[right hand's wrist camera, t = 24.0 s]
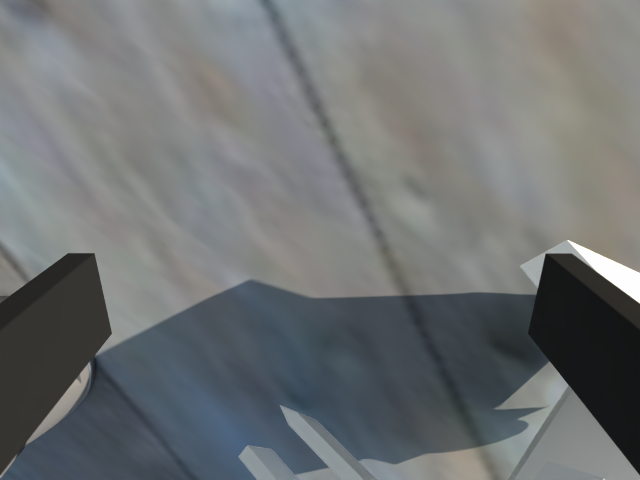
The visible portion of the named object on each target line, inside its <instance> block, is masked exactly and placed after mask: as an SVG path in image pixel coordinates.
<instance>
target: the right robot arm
mask: <svg viewBox="0 0 640 480" xmlns="http://www.w3.org/2000/svg"><path fill="white" fill-rule="evenodd" d="M111 334H112V332H111V327H110V323H109V318H108V313H107V309H106V304H105V300H104V295H103V290H102V286H101V281H100V277H99V272H98V267H97V263H96V258H95V254H94V253H68V254H67V255H65V256H64V257H63V258H61V259H60V260H58V261H57V262H56V263H54V264H53V265H52V266H50V267H49V268H48V269H46V270H45V271H43V272H42V273H41V274H39V275H38V276H37V277H35V278H34V279H33V280H31V281H30V282H28V283H27V284H26V285H24V286H23V287H22V288H20V289H19V290H18V291H16V292H15V293H13V294H12V295H11V296H0V479H1V477H2V476H3V475H4V474H5V472H6V471H7V470H8V468H9V467H10V466H11V464H12V463H13V462H14V460H15V459H16V458H17V456H18V455H19V454H20V453H21V451H22V450H23V449H24V448H25V446H26V445H28V444H29V443H31V442H32V441H33V440H35V439H36V438H38V437H39V436H41V435H42V434H43V433H45V432H46V431H48V430H49V429H50V428H52V427H53V426H55V425H56V424H58V423H59V422H60V421H62V420H63V419H65V418H66V417H67V416H69V415H70V414H71V413H72V412H73V411H74V410H75V409H76V408H77V407H78V406H79V405H80V404H81V403H82V401H83V400H84V399H85V397H86V396H87V394H88V393H89V391H90V390H91V388H92V386H93V383H94V380H95V374H96V367H95V360H94V356H95V354H96V353H97V352H98V350H99V349H100V348H101V347H102V345H103V344H104V343H105V342H106V340H107V339H108V338H109V336H110V335H111ZM528 334H529V335H530V336H531V338H532V339H533V340H534V342H535V343H536V344H537V345H538V347H539V348H540V349H541V350H542V352H543V353H544V354H545V356H546V357H547V358H548V359H549V361H550V362H551V363H552V364H553V366H554V367H555V368H556V370H557V371H558V372H559V373H560V375H561V376H562V377H563V378H564V380H565V381H566V382H567V384H568V385H569V386H570V387H571V389H572V390H573V391H574V392H575V394H576V395H577V396H578V398H579V399H580V400H581V401H582V403H583V404H584V405H585V406H586V408H587V409H588V410H589V411H590V413H591V414H592V415H593V417H594V418H595V419H596V420H597V422H598V423H599V424H600V425H601V427H602V428H603V429H604V431H605V432H606V433H607V434H608V436H609V437H610V438H611V439H612V441H613V442H614V443H615V445H616V446H617V447H618V448H619V450H620V451H621V452H622V453H623V455H624V456H625V457H626V459H627V460H628V461H629V462H630V464H631V465H632V466H633V467H634V469H635V470H636V471H637V473H638V474H639V475H640V303H639V302H637V301H636V300H635V299H633V298H632V297H631V296H629V295H628V294H627V293H625V292H624V291H622V290H621V289H620V288H618V287H617V286H616V285H614V284H613V283H612V282H610V281H609V280H607V279H606V278H605V277H603V276H602V275H601V274H599V273H598V272H597V271H595V270H594V269H592V268H591V267H590V266H588V265H587V264H586V263H584V262H583V261H582V260H580V259H579V258H577V257H576V256H575V255H573V254H572V253H546V254H545V258H544V263H543V267H542V272H541V277H540V281H539V286H538V290H537V295H536V300H535V304H534V309H533V313H532V318H531V323H530V327H529V332H528Z"/></svg>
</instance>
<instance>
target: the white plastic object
mask: <svg viewBox="0 0 640 480" xmlns="http://www.w3.org/2000/svg"><path fill="white" fill-rule="evenodd" d="M546 253H572V254H573V255H575V256H576V257H577V258H579V259H580V260H582V261H583V262H584V263H586V264H587V265H588V266H590V267H591V268H592V269H594V270H595V271H597V272H598V273H599V274H601V275H602V276H603V277H605V278H606V279H607V280H609V281H610V282H612V283H613V284H614V285H616V286H617V287H618V288H620V289H621V290H622V291H624V292H625V293H627V294H628V295H629V296H631V297H632V298H633V299H635V300H636V301H637V302H639V303H640V273H638V272H636V271H634V270H632V269H630V268H627V267H625V266H623V265H621V264H619V263H616V262H614V261H612V260H610V259H608V258H606V257H603V256H601V255H599V254H597V253H595V252H592V251H590V250H588V249H586V248H584V247H582V246H579V245H577V244H575V243H573V242H571V241H569V240H566V241H564V242H562V243H560V244H558V245H557V246H555V247H553V248H551V249H549V250H548V251H546V252H544V253H542V254H540V255H538V256H537V257H535V258H533V259H531V260H529V261H527V262H526V263H524V264H522V265H520V267H521V268H522V269H523V271H524V272H525V273H526V274H527V276H528V277H529V278H530V279H531V280H532V282H533V283H534V284H535V285H536V286H537V288H538V286H539V281H540V277H541V272H542V267H543V263H544V258H545V254H546ZM280 407H281V409H282V412H283V414H284V416H285V418H286V420H287V423H288V425H289V426H290V427H291V428H292V429H293V430H294V431H295V432H296V433H297V434H298V435H299V436H300V437H301V438H302V439H303V440H304V441H305V442H306V444H307V445H308V446H309V447H310V448H311V449H312V450H313V451H314V452H315V453H316V454H317V455H318V456H319V457H320V458H321V459H322V460H323V461H324V462H325V463H326V465H327V466H328V467H329V468H330V469H331V470H332V471H333V472H334V473H335V474H336V475H337V476H338V477H339V478H340V479H341V480H377V479H376V478H375V477H374V476H373V475H372V474H371V473H370V472H369V471H368V470H367V469H366V468H365V467H364V466H363V465H362V464H361V463H360V462H359V461H358V460H357V459H356V458H355V457H354V456H353V455H352V454H351V453H350V452H349V451H348V450H347V449H346V448H345V447H344V446H343V445H342V444H341V443H340V442H338V441H337V440H336V439H335V438H334V437H333V436H332V435H331V434H330V433H329V432H328V431H327V430H326V429H325V428H324V427H323V426H322V425H321V424H320V423H319V422H318V421H317V420H316V419H313V418H311V417H309V416H307V415H304V414H302V413H300V412H297V411H295V410H292V409H289V408H287V407H284V406H281V405H280ZM238 457H239V458H240V460H241V461H242V462H243V463H244V465H245V466H246V467H247V468H248V470H249V471H250V472H251V473H252V474H253V476H254V477H255V478H256V479H257V480H299V479H298V478H297V477H296V475H295V474H294V473H293V472H292V471H291V470H290V469H289V467H288V466H287V465H286V464H285V463H284V462H283V461H282V460H281V458H280V457H279V456H278V455H277V454H276V453H275V452H274V451H273V449H270V448H264V447H257V446H251V445H247V446H246V448H245V449H244V450H243V451H242V453H241V454H240V455H239V456H238ZM508 480H640V475H639V474H638V473H637V471H636V470H635V469H634V467H633V466H632V465H631V464H630V462H629V461H628V460H627V459H626V457H625V456H624V455H623V453H622V452H621V451H620V450H619V448H618V447H617V446H616V445H615V443H614V442H613V441H612V439H611V438H610V437H609V436H608V434H607V433H606V432H605V431H604V429H603V428H602V427H601V425H600V424H599V423H598V422H597V420H596V419H595V418H594V417H593V415H592V414H591V413H590V411H589V410H588V409H587V408H586V406H585V405H584V404H583V403H582V401H581V400H580V399H579V398H578V396H577V395H576V394H575V392H574V391H573V390H572V389H571V387H570V386H568V387H567V389H566V390H565V392H564V393H563V395H562V396H561V398H560V399H559V400H558V402H557V403H556V405H555V406H554V408H553V409H552V411H551V413H550V414H549V416H548V417H547V419H546V420H545V422H544V423H543V425H542V426H541V428H540V429H539V431H538V433H537V434H536V436H535V437H534V439H533V440H532V442H531V444H530V445H529V447H528V448H527V450H526V452H525V453H524V455H523V457H522V458H521V460H520V461H519V463H518V465H517V466H516V468H515V469H514V471H513V473H512V474H511V476H510V477H509V479H508Z"/></svg>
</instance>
